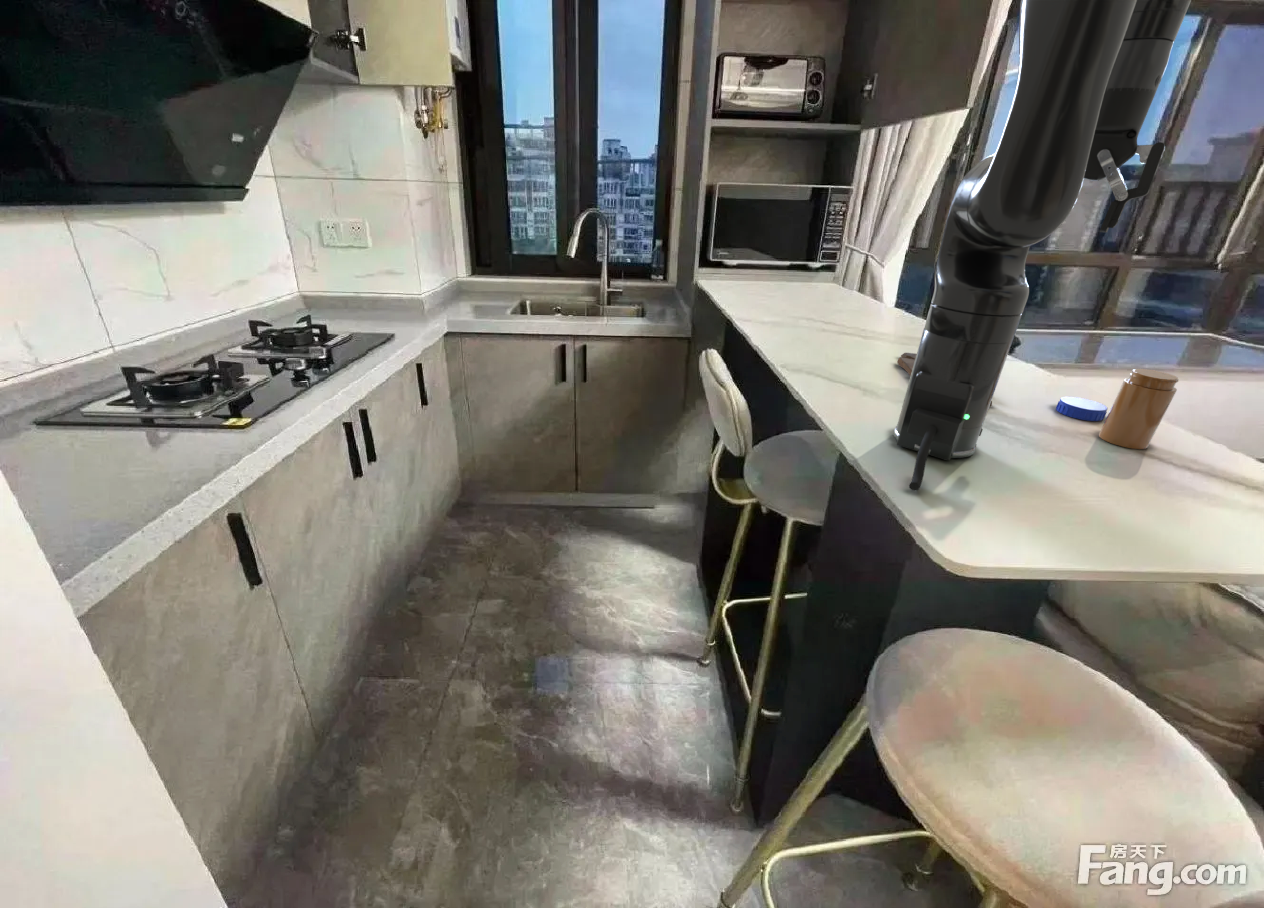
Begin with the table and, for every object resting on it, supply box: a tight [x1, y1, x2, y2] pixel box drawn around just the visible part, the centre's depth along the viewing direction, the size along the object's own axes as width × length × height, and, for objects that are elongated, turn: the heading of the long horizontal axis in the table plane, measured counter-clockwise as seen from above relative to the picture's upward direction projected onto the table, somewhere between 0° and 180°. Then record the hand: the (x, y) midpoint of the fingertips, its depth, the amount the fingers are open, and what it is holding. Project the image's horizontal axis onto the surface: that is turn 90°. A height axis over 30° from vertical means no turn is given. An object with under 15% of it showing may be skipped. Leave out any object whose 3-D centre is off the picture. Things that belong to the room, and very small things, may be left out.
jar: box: [1098, 368, 1179, 450], centre depth 71 cm, size 5×5×9 cm
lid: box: [1055, 396, 1108, 422], centre depth 81 cm, size 6×6×2 cm
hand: (1064, 229), depth 75 cm, fingers open, 8 cm apart
